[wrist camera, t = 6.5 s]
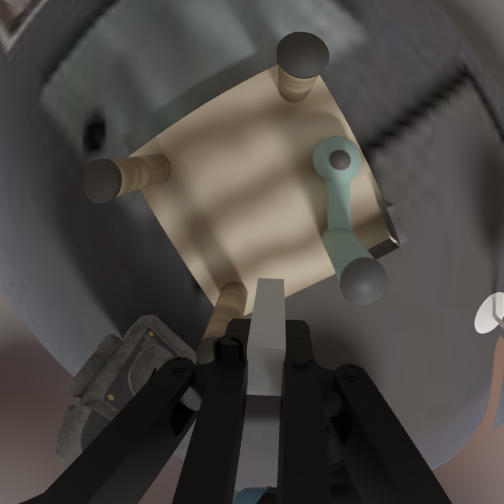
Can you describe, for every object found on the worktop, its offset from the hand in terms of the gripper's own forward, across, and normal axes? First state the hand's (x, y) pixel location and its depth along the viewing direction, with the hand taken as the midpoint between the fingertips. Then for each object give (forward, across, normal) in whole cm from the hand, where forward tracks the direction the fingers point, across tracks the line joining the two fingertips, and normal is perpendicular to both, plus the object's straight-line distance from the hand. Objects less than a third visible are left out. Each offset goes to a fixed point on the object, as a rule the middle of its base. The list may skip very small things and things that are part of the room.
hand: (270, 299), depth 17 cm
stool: (+16, -1, +4) cm, 17 cm away
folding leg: (+13, +6, +4) cm, 15 cm away
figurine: (+17, -16, -18) cm, 29 cm away
